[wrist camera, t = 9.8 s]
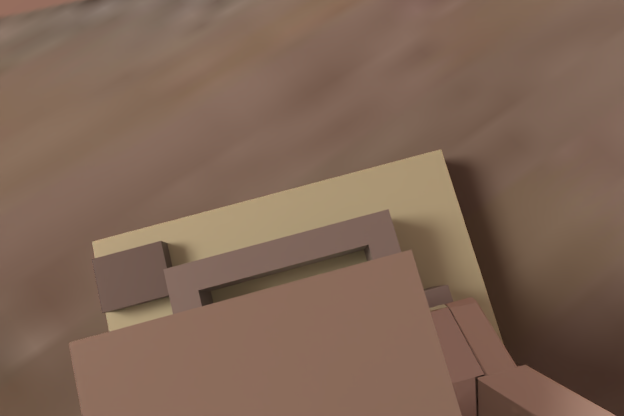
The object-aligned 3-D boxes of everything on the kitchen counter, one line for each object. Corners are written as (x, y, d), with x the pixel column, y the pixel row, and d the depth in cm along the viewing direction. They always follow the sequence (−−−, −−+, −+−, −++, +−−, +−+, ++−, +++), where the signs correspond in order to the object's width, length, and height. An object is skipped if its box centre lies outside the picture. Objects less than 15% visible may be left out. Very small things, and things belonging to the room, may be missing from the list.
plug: (257, 460, 14) (142, 744, 5) (223, 315, 15) (68, 342, 6) (399, 420, 14) (527, 632, 5) (358, 277, 15) (411, 249, 6)
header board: (169, 554, 19) (136, 610, 16) (107, 245, 21) (66, 235, 18) (526, 453, 20) (569, 486, 16) (432, 159, 22) (454, 133, 18)
